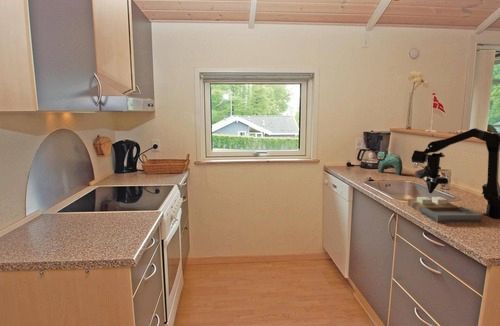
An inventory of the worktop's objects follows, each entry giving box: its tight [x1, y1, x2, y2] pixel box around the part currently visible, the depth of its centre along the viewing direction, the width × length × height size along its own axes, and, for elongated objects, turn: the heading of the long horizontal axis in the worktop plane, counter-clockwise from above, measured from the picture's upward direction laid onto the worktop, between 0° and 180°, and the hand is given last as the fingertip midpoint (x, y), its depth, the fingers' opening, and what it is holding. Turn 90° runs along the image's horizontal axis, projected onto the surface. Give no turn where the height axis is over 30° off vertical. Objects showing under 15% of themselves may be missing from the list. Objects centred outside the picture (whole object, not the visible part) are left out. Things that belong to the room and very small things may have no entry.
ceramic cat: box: [376, 148, 403, 176], centre depth 254 cm, size 20×6×20 cm, turn 40°
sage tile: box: [416, 196, 432, 204], centre depth 162 cm, size 5×5×2 cm
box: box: [420, 206, 483, 224], centre depth 148 cm, size 13×20×4 cm, turn 92°
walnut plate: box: [407, 199, 460, 213], centre depth 162 cm, size 14×18×3 cm
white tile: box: [431, 196, 449, 204], centre depth 162 cm, size 5×5×2 cm
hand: (430, 193), depth 170 cm, fingers closed
